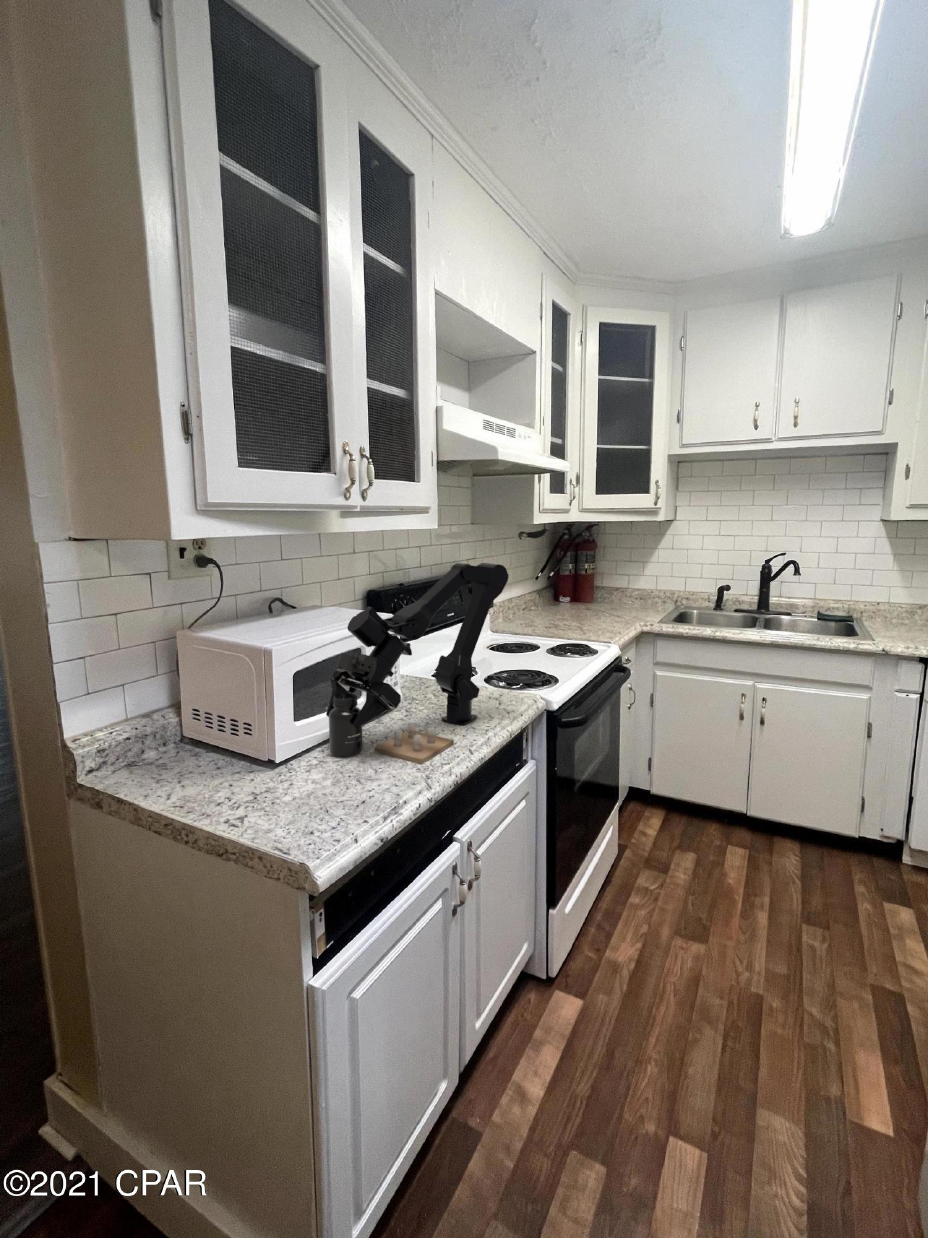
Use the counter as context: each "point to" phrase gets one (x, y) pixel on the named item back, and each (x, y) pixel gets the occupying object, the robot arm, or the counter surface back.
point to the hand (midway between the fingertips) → (340, 721)
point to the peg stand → (414, 745)
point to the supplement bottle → (345, 727)
